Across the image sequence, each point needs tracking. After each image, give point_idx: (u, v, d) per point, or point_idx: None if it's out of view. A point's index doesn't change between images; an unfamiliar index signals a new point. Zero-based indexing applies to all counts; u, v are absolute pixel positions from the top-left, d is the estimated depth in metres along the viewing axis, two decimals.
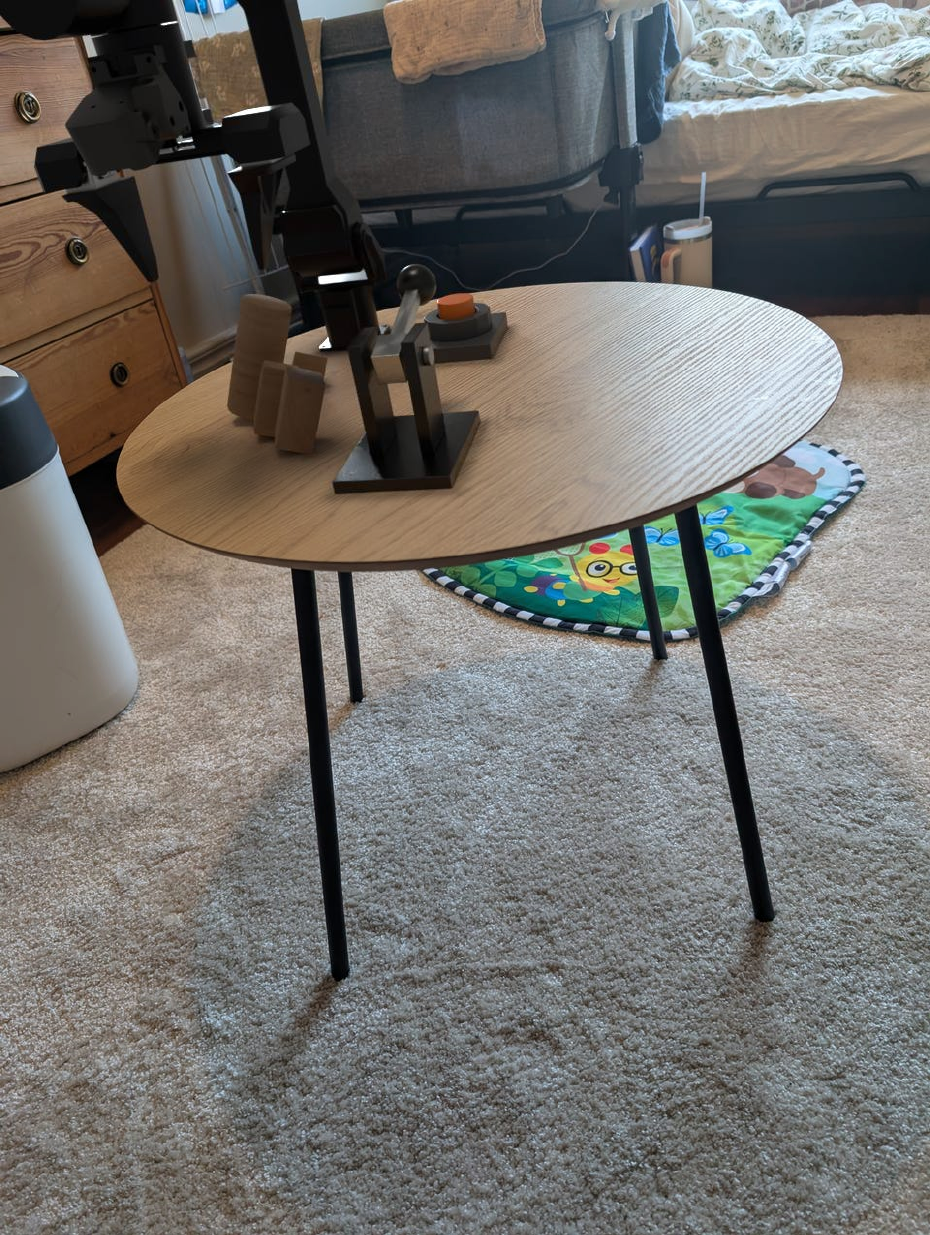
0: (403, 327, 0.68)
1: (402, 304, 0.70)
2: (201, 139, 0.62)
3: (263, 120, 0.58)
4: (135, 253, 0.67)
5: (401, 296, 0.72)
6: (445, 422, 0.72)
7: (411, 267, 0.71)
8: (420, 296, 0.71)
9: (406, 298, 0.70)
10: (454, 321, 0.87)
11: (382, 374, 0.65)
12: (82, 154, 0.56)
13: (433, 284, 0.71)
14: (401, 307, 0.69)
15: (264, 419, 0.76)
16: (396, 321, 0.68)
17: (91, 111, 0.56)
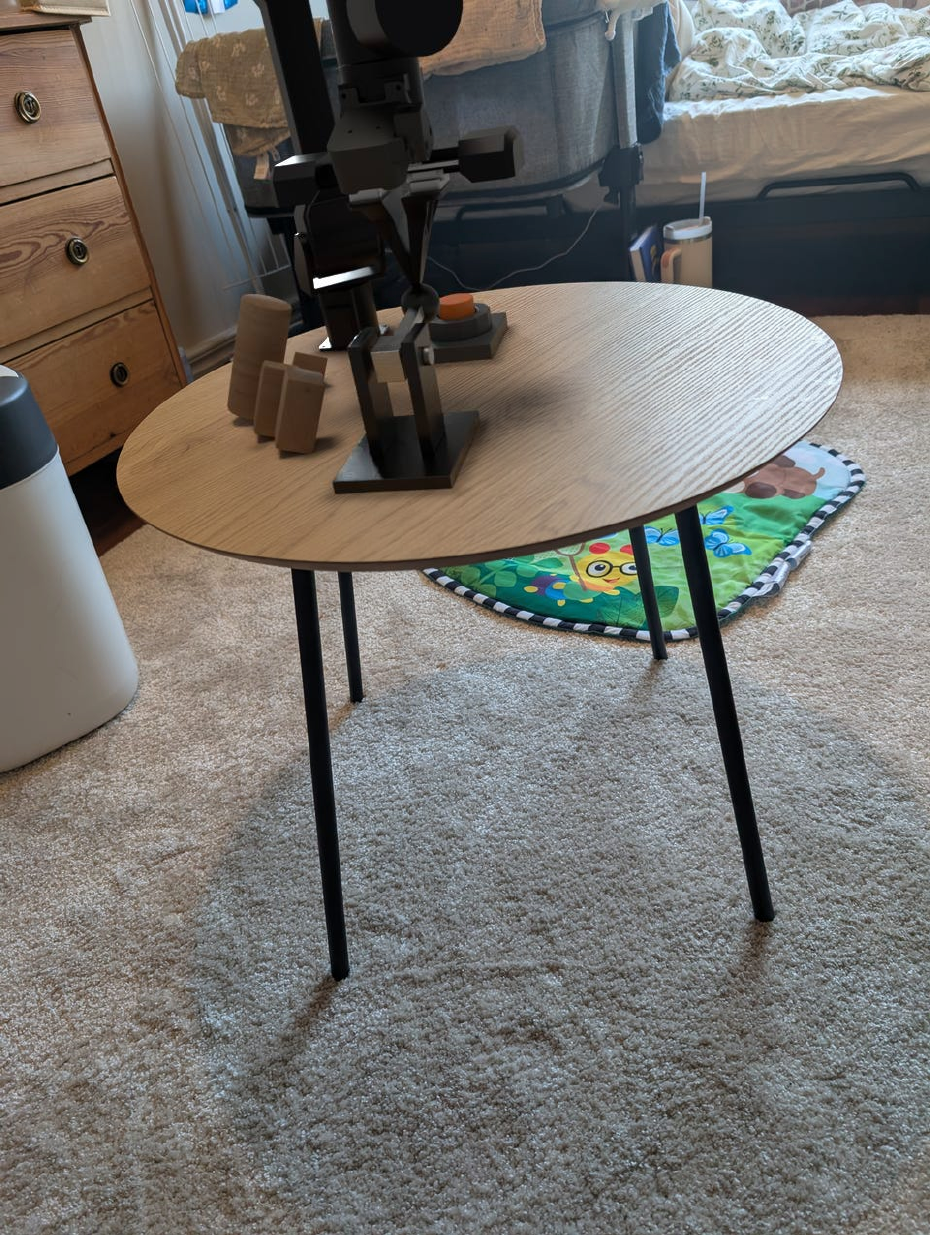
0: (404, 333, 0.68)
1: (405, 316, 0.70)
2: None
3: (499, 143, 0.63)
4: (404, 258, 0.70)
5: (405, 313, 0.73)
6: (445, 422, 0.72)
7: (416, 285, 0.72)
8: (424, 312, 0.72)
9: (410, 311, 0.71)
10: (454, 321, 0.87)
11: (381, 372, 0.65)
12: (338, 175, 0.61)
13: (436, 302, 0.72)
14: (404, 318, 0.70)
15: (264, 419, 0.76)
16: (398, 329, 0.69)
17: (350, 135, 0.61)
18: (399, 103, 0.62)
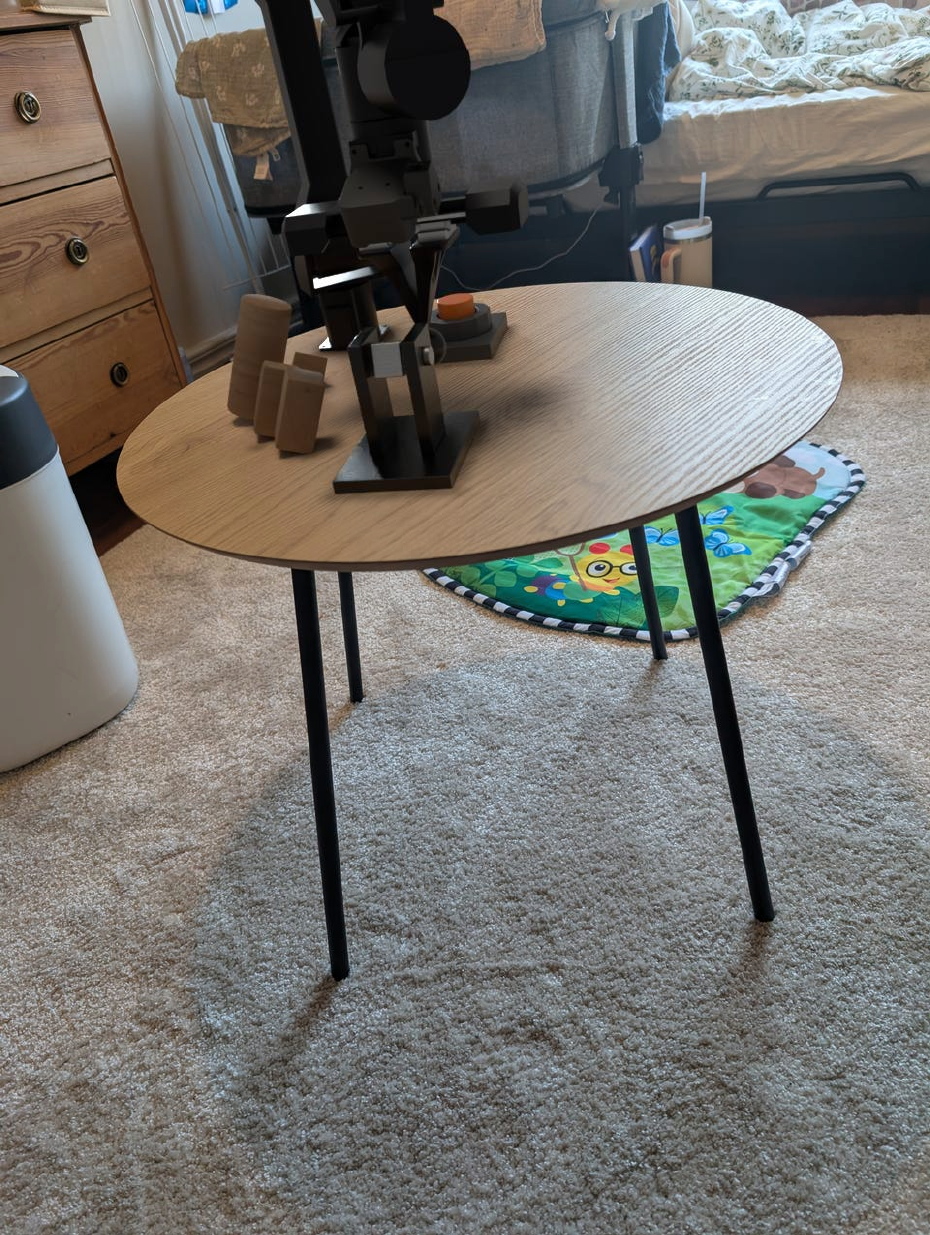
0: None
1: None
2: None
3: (505, 197, 0.65)
4: (411, 304, 0.72)
5: None
6: (445, 422, 0.72)
7: None
8: None
9: None
10: (454, 321, 0.87)
11: (379, 366, 0.65)
12: (349, 230, 0.63)
13: (443, 344, 0.74)
14: None
15: (264, 419, 0.76)
16: None
17: (360, 192, 0.62)
18: (408, 159, 0.64)
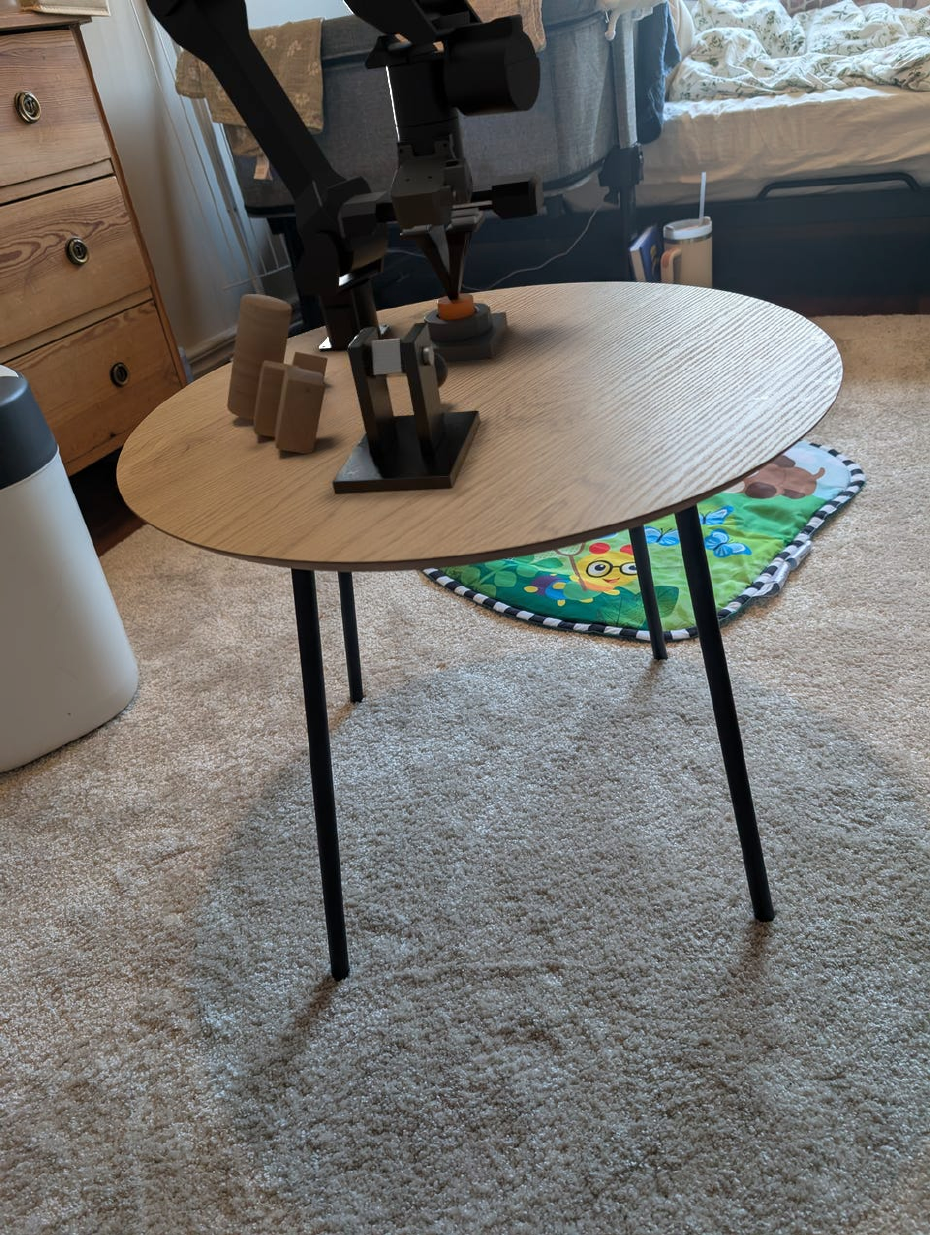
0: None
1: None
2: None
3: (524, 188, 0.79)
4: (445, 278, 0.87)
5: None
6: (445, 422, 0.72)
7: None
8: None
9: None
10: (454, 321, 0.87)
11: (378, 362, 0.65)
12: (398, 214, 0.77)
13: (444, 367, 0.75)
14: None
15: (264, 419, 0.76)
16: None
17: (407, 183, 0.77)
18: (445, 157, 0.78)
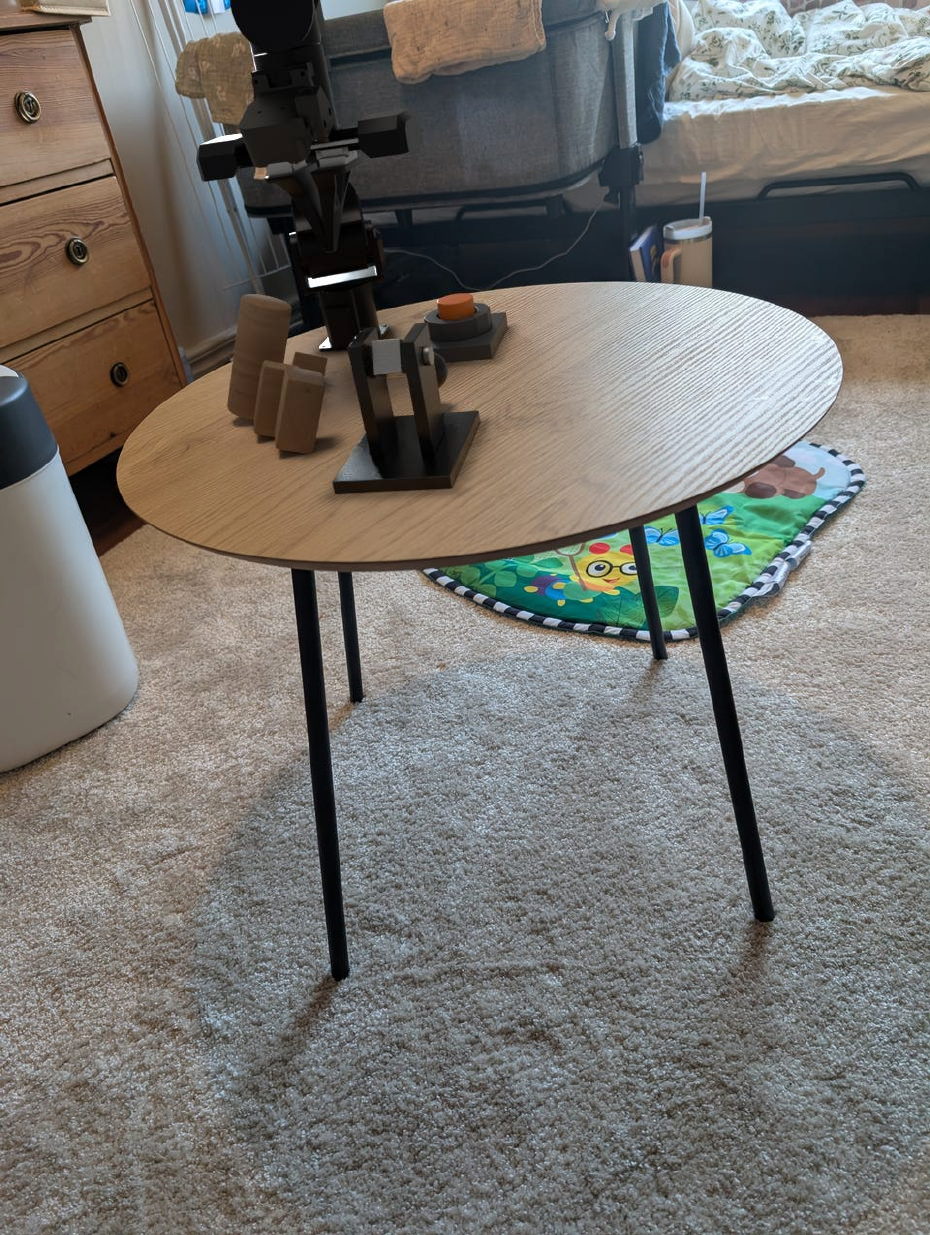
0: None
1: None
2: None
3: (392, 122, 0.72)
4: (318, 227, 0.79)
5: None
6: (445, 422, 0.72)
7: None
8: None
9: None
10: (454, 321, 0.87)
11: (378, 362, 0.65)
12: (250, 150, 0.70)
13: (444, 367, 0.75)
14: None
15: (264, 419, 0.76)
16: None
17: (258, 115, 0.69)
18: (303, 87, 0.71)
